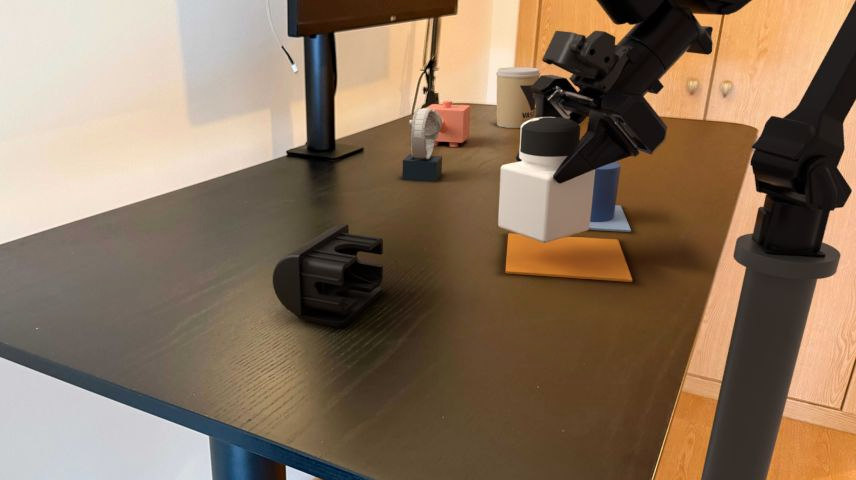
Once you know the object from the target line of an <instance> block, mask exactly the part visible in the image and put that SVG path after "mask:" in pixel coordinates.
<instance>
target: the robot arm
mask: <svg viewBox="0 0 856 480" xmlns="http://www.w3.org/2000/svg"><path fill="white" fill-rule="evenodd" d="M595 1H596V2H597V4H598V5H599V7H600V8H602V10H603V11H604V12H605V14H606V16H607V17H608V18H609V19H610V20H611V22H612V23H613V24H615V25H619V26H620V25H625V24H628V25H630V26H631V25H633V27H631V29H630V30H628V32H627V33H626V34H625V35H624V36H623V37H622V38H621V39H620V41H618V42H617V43H616V36H614V35H613V34H611V33H609V32H608V31H604V30H594V31H592V32H591V33H590V34H589V35H587V37H586V35H584V34H579V33H576V32H572V31H563V30H554V31H555V32H554V33H553V35H552V38H551V39H550V41H549V44H548V45H547V48H546V50H545V52H544V55H543V57H542V59H541V61H542V62H543V63H545V64H547V65H550V66H551V65H554V66H555V67H558V68H560V69H562V70H563V71H566V72H568V73H570V74H571V76H570V77H569V80H568V78H567V77H564V76H558V75H555V74H543V75H541V74H540V76H539V79H538V80H537V81H536V82H535V83H534V84H533V85H532V86H531V87H530V89H531V91H532V92H533V93H534V94H533V100H534V101H535V115H534V118H540V117H560V118H567V119H571V120H573V121H575V122H577V123H578V124H579V125H580V124H582V123H583V122H584V121H585V120H586V119H587V118H588V121H587V127H586V131H585V133H584V134H583V136H582V137H580V139H579V142H578V143H577V144H576V146H575V147H574V148H573V149H572V151H571V152H570V153H569V154H568V156H567V157H566V158H565V160H564V161H563V162H562V163H561V165H560V166H559V168H558V169H557V170H556V172H555V173H554V175H553V178H554V180H555V181H556V182H557V183H559V184H561V183H563V182H566V181H568V180H571V179H573V178H575V177H578V176H580V175H583V174H585V173H587V172H590V171H592V170H594V169H597V168H600V167H602V166H605V165H607V164H610V163H613V162H618V161H622V160H623V159H626V158H629V157H634V158H636V157H638V156H639V155H640V152H643V153H646V154H648V155H653V154H654V153H655V152H656V151H657V149H659V148H660V146H661V145H663V143H665V141H666V139H667V132H668V131H667V130H668V125H667V124H666V123H665V122H664V121H663V119H662V118H661V117H660V115H659V114H658V113H657V112H656V110H655V109H654V108H653V107H652V105H651V103H650V102H649V101H648V100H647V99H646V97H645V96H646V95H647V94H648V93H649V94H654V95H658V94H659V93H660V91H662V90H663V88H664V87H665V86H664V85H663V83H662V82H661V79H662V78H663V77H664V75H665V74H666V73H667V72H668V71H669V70H671V68H672V67H673V66H674V65H675V64H676V63H677V62H678V61H679V60H680V59H681V57H683V56H684V54H685V53H689V54H690V53H691V54H697V55H698V54H699V55H708V56H709V55H710V54H712V53H713V45H714V44H713V38H712V34H713V30H714V28H713V27H712V26H709V25H708V26H707V25H701V23H700V22H699V20H698V19H697V17H696V16H695V15H712V16H713V15H714V16H715V15H716V16H730V15H731V14H734V13H738V12H739V11H740V10H742V9H743V8H745V6H747V5H748V4H749V3H751V2H752V1H753V0H595ZM574 86H575V87H577V88H578V89H579V90H577V89H576V88H575V87H574ZM855 102H856V0H854V2H853V4H852V5H851V8H850V9H849V11H848V13H847V15H846V17H845V18H844V21H843V22H842V24H841V26H840V28H839V30H838V32H837V33H836V35H835V37H834V39H833V41H832V43H831V44H830V46H829V48H828V50H827V51H826V53H825V55H824V57H823V59H822V61H821V63H820V64H819V66H818V68H817V69H816V72H815V74H814V75H813V78H812V79H811V81H810V83H809V85H808V86H807V89H806V90H805V92H804V94H803V95H802V98H801V99H800V101H799V103H798V104H797V106H796V107H795V108H794V109H793V110H792V111H790V112H789V113H787V114H786V115H785V116H783V117H781V116H777V115H776V116H775V115H771V116H770V117H769V118H768V119H767V120H766V122H765V124H764V126H763V129H762V131H761V133H760V136H759V137H758V139H757V140H756V141H755V142H754V143H753V144H752V145H751V149H752V150H753V153H752V155H751V158H750V166H751V168H752V169H751V170H752V174H753V176H754V183H755V191H756V192H757V193H760V194H765V197H764V202H763V206H759V207H758V208H757V211H756V212H757V213H756V218H755V222H754V226H753V231H752V233H753V235H752V239H753V240H754V241H755V242H756V243H757V245H758V246H759V247H760V248H761V249H762V250H763V251H764V253H766V254H771V255H788V256H805V257H822V258H824V257H825V256H826V253H825V252H824V251H823V250H822V249H821V245H822V242H823V240H824V237H825V233H826V229H827V225H828V220H829V217H830V213H831V212H834V211H835V209H840V208H841V209H842V208H844V207H845V205H846V203H847V201H848V200H849V197H850V196H851V194H852V192H853V191H852V190H853V189H852V188H851V186H850V184H849V183H848V182H847V180H846V179H845V177H844V175H843V174H842V173H841V171H840V170H839V168H838V167H839V164H840V162H841V159H842V157H843V154H844V152H845V149H846V148H845V147H846V146H845V133H844V131H845V130H844V123H845V120H846V118H847V116H848V114H849V113H850V111H851V109H852V108H853V107H854V104H855ZM519 151H520V149H519V150H518V152H517V154H516V156H515V160H516V162H520V161H522V159H520V158H519Z"/></svg>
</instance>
